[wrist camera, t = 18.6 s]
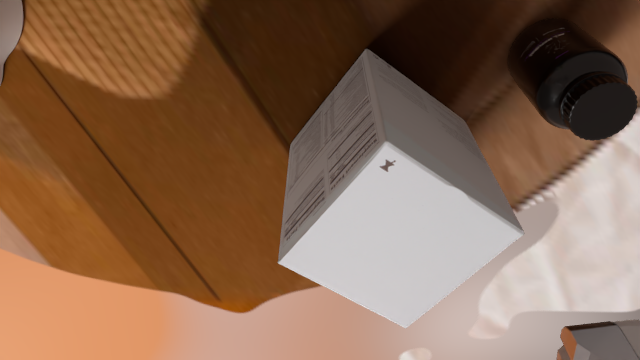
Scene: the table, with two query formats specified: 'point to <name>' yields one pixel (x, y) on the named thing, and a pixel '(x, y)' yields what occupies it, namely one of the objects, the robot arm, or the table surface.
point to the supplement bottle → (572, 79)
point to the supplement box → (390, 196)
